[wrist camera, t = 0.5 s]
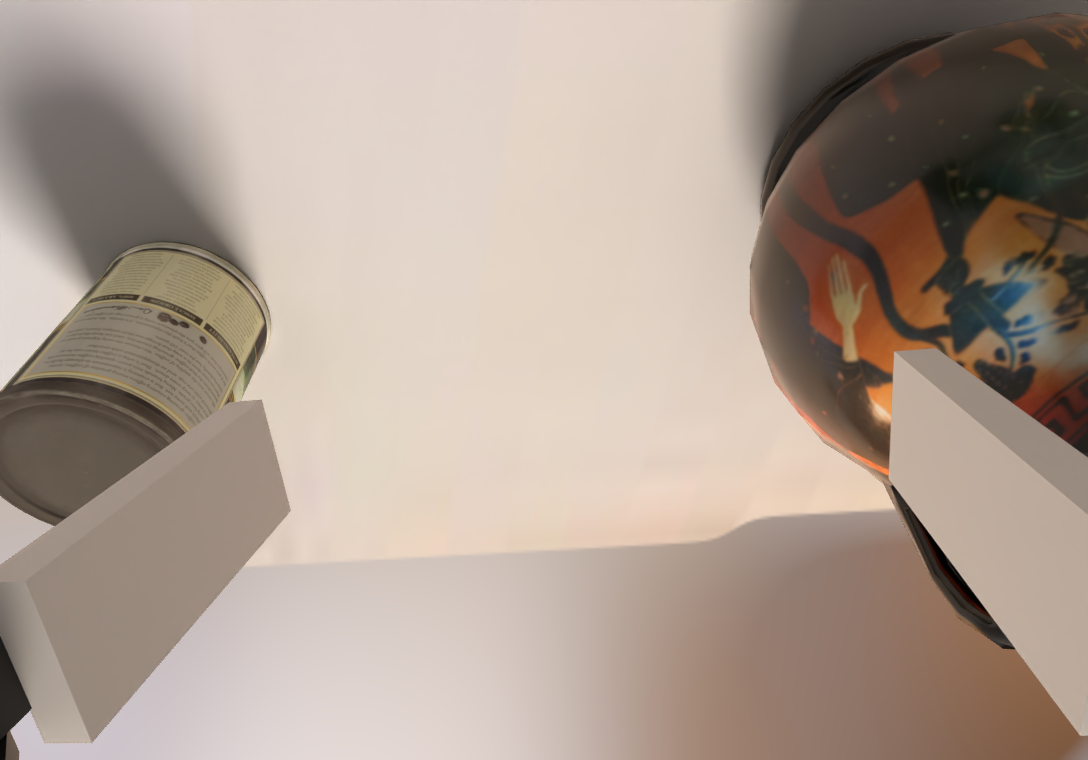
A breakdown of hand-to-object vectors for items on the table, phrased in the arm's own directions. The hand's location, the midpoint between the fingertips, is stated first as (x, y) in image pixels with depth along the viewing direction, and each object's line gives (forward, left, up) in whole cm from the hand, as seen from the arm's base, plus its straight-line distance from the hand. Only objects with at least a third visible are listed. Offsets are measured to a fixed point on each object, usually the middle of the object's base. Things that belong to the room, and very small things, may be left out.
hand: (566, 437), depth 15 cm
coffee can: (-1, -27, -28) cm, 39 cm away
